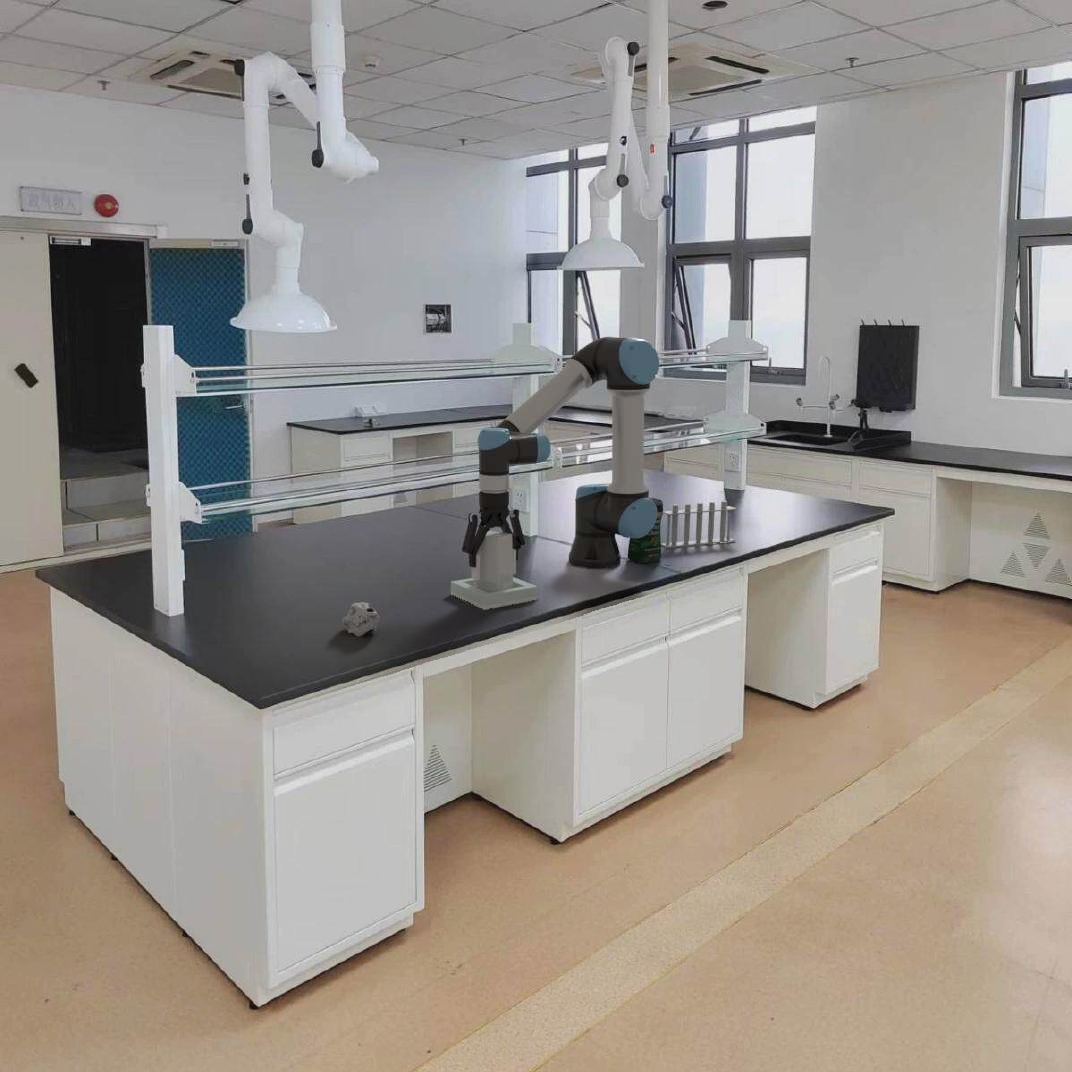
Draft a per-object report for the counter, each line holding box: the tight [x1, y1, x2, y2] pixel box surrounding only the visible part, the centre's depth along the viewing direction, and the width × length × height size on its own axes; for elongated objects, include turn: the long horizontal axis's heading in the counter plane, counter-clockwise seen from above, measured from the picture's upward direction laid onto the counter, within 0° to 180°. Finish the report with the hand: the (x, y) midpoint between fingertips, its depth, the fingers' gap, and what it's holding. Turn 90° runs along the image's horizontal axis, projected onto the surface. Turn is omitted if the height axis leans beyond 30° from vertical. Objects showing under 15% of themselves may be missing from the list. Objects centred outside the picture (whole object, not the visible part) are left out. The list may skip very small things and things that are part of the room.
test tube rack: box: [661, 500, 738, 549], centre depth 324 cm, size 25×4×13 cm, turn 113°
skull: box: [341, 601, 380, 638], centre depth 234 cm, size 8×9×12 cm
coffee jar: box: [627, 497, 664, 564], centre depth 301 cm, size 10×8×19 cm
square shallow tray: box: [450, 576, 539, 610], centre depth 264 cm, size 16×16×4 cm
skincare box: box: [475, 530, 514, 593], centre depth 262 cm, size 8×7×16 cm
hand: (493, 576), depth 263 cm, fingers open, 10 cm apart
